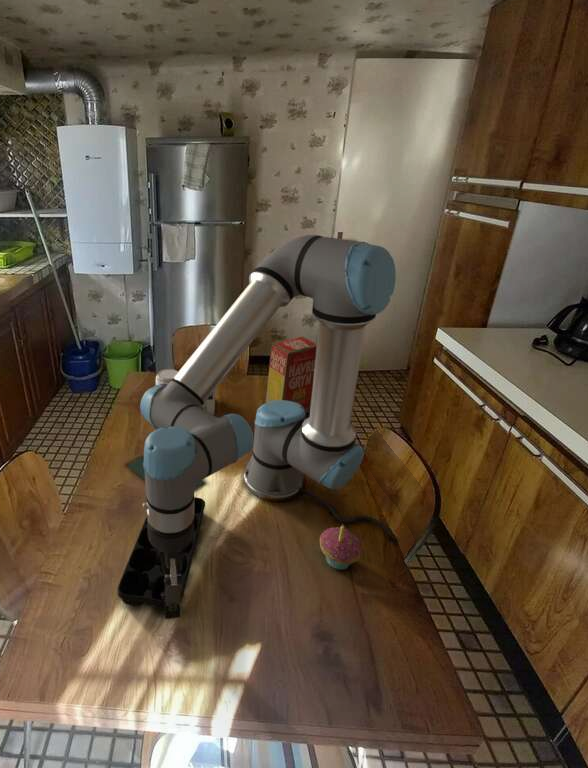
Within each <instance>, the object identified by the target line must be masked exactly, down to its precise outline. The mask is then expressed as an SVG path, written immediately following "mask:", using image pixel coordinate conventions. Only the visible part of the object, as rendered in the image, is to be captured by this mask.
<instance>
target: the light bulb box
mask: <svg viewBox="0 0 588 768" xmlns="http://www.w3.org/2000/svg"><path fill="white" fill-rule="evenodd" d="M201 408H202V409H204V410H206V411H207V412H209V413H211V414H212V415H215V413H216V411H215V410H216V389H215V390H214V391H213V392H212V394H211V395H210V396H209V398H208V399H207V400H206V401H205V403H204V404H203V406H202V407H201Z"/></svg>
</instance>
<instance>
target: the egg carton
mask: <svg viewBox="0 0 588 768" xmlns="http://www.w3.org/2000/svg"><path fill="white" fill-rule="evenodd" d="M205 508H206V501H205V500H204V499H203V498H201V497H196V496H194V535H193V539H192V541H191V543H190V544H189V545H188V546H187V547H186V548H184V559H183V560H182V571H180V572H179V573H181V577H182V579H183V582H182V585H181V602H182V600H183V598H184V594H185V590H186V586H187V581H188V578H189V574H190V571H191V566H192V560H193V558H194V552H195V550H196V546H197V541H198V538H199V534H200V530H201V525H202V520H203V517H204V512H205ZM147 520H148V518H147V516H146V517H145V518H144V522H143V524H142V526H141V529H140V532H139V534H138V537H137V539H136V541H135V543H134V546H133V549H132V551H131V553H130V556H129V558H128V561H127V563H126V566H125V568H124V570H123V573H122V576H121V578H120V579H119V583H118V586H117V596H118V597H119V598H120V599H121V601H122V602H123V604H126V605H128V606H133V607H140V606H142V605H144V604H145V605H148V606H151V607H152V606H153V608H154V610H155V611H158V612H161V613H165V599H161V592H164V587H165V584H164V580H165V579H164V573H163V572H162V562H161V561H160V550H158V549H156V548H155V547H153V546H152V544H151V543H150V541H149V539H148V528H147Z"/></svg>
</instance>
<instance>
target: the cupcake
mask: <svg viewBox="0 0 588 768" xmlns="http://www.w3.org/2000/svg"><path fill="white" fill-rule="evenodd" d="M319 546H320V549H321V552H322V554H323V555H324V556H325V560H326V562H327V564H328V565H329V566H330V567H332V568H333V569H336V570H339V571H340V570H341V571H342V570H346V569H347V568H348V567H350V565H351V564H354V563H356V562H358V561H359V560H360V557H361V555H362V552H363V547H362V544H361V541H360V539H359V537H358V536H357V535H355V534H354V533H353V532H352V531H350V530H349V529H346V528H345V526H344V524H342V525H341V526H340V527H339V526H337V527H336V526H335V527H334V526H333V527H328V528H326V529H325V530H323V532H322V533H321V535H320V536H319Z"/></svg>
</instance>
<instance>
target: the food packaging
mask: <svg viewBox="0 0 588 768" xmlns="http://www.w3.org/2000/svg"><path fill="white" fill-rule="evenodd" d="M316 349H317V342H315V341H313V340H311V339H309V338H307V337H305V336H297V337H294V338H290V339H286V340H281V341H275V342H271V347H270V355H269V364H268V365H269V366H268V375H267V384H266V385H267V386H266V396H265V403H268V402H271V401H279V400H285V401H292V402H295V403H298V404H300V405H301V406H302V407H303V408H304V410H305V413H306V414H308V413H309V414H310V408H311V399H312V389H313V379H314V369H315V359H316Z"/></svg>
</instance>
